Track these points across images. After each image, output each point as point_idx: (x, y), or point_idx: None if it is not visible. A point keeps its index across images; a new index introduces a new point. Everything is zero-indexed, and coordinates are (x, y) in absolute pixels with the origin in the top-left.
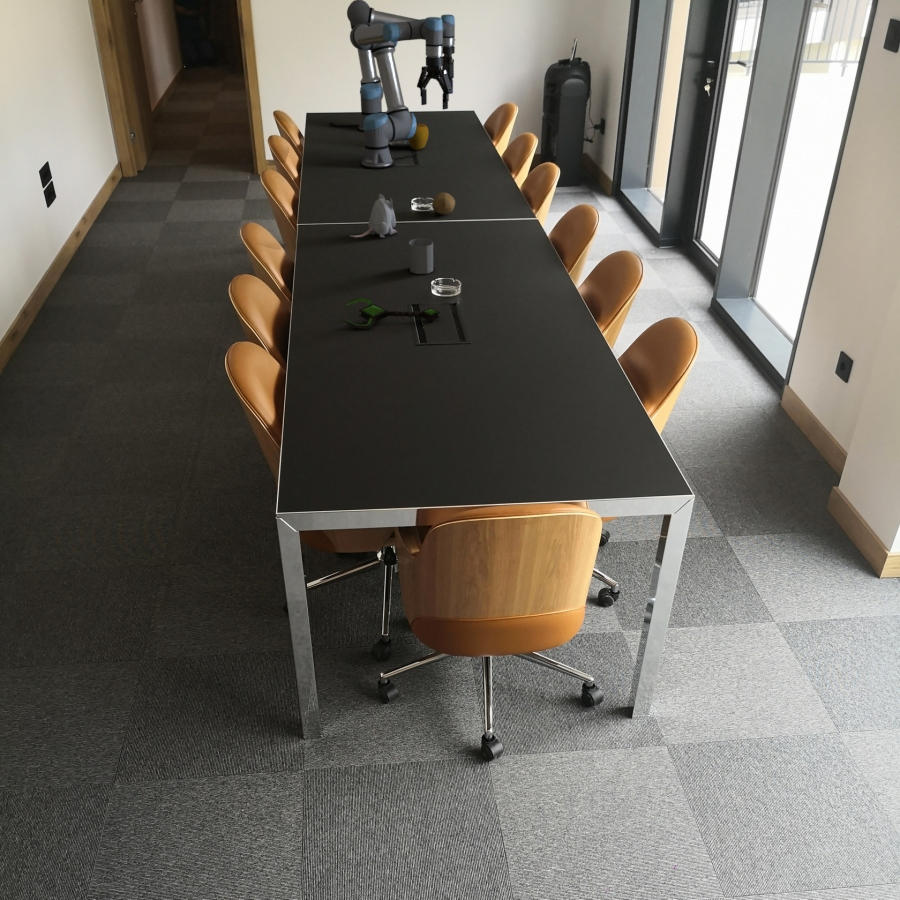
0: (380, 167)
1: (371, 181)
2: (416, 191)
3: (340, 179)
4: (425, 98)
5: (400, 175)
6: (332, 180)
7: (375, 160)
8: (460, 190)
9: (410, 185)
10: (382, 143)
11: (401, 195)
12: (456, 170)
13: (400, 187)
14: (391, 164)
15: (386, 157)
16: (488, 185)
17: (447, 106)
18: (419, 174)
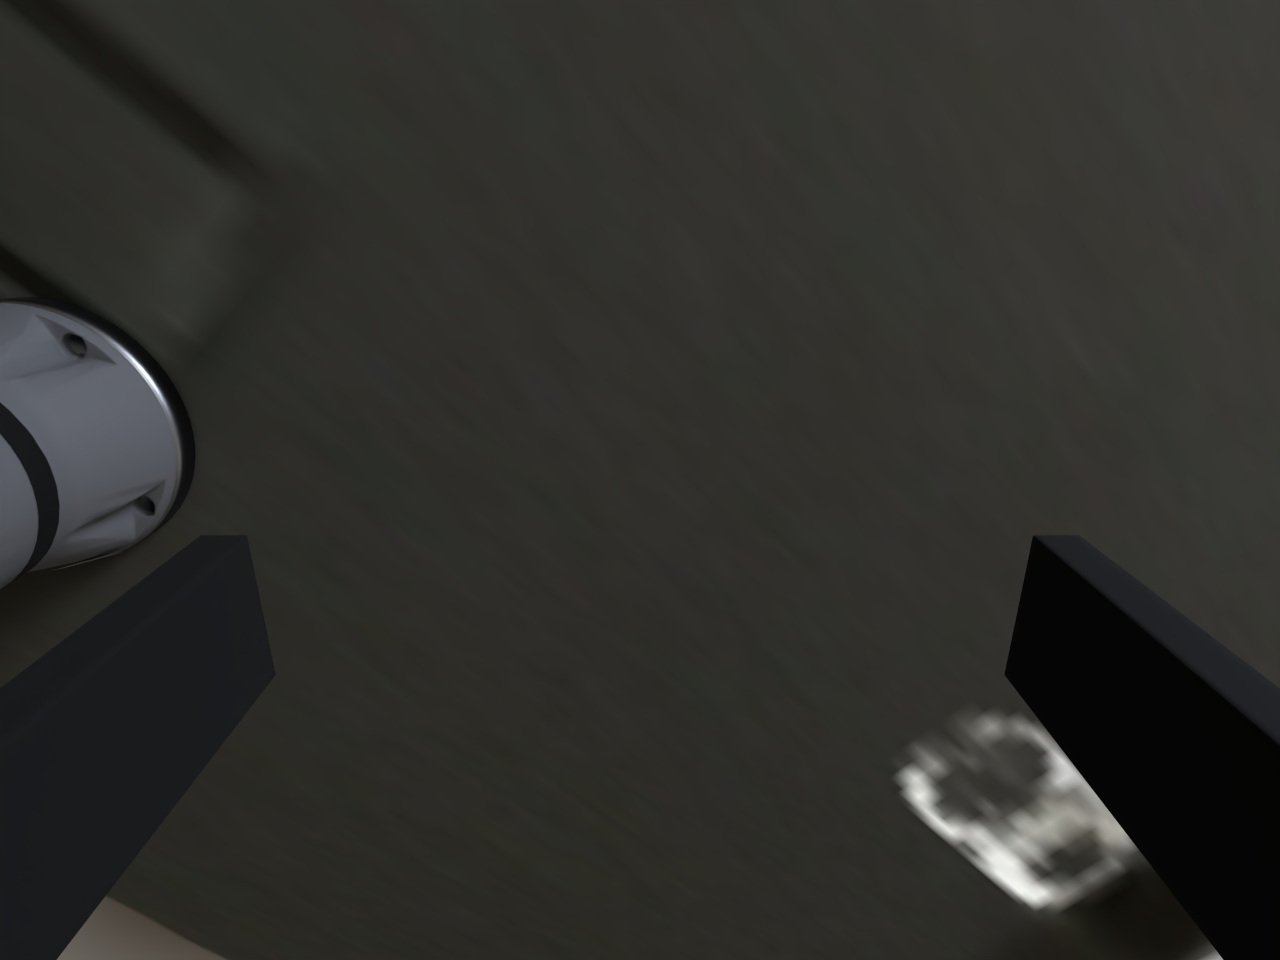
0: (182, 494)
1: (430, 723)
2: (818, 684)
3: (263, 811)
4: (154, 667)
5: (440, 504)
6: (253, 850)
7: (120, 536)
8: (1056, 478)
9: (690, 623)
10: (14, 527)
11: (802, 788)
12: (655, 39)
13: (674, 692)
14: (163, 383)
15: (126, 452)
16: (1182, 220)
17: (1111, 580)
18: (518, 384)
